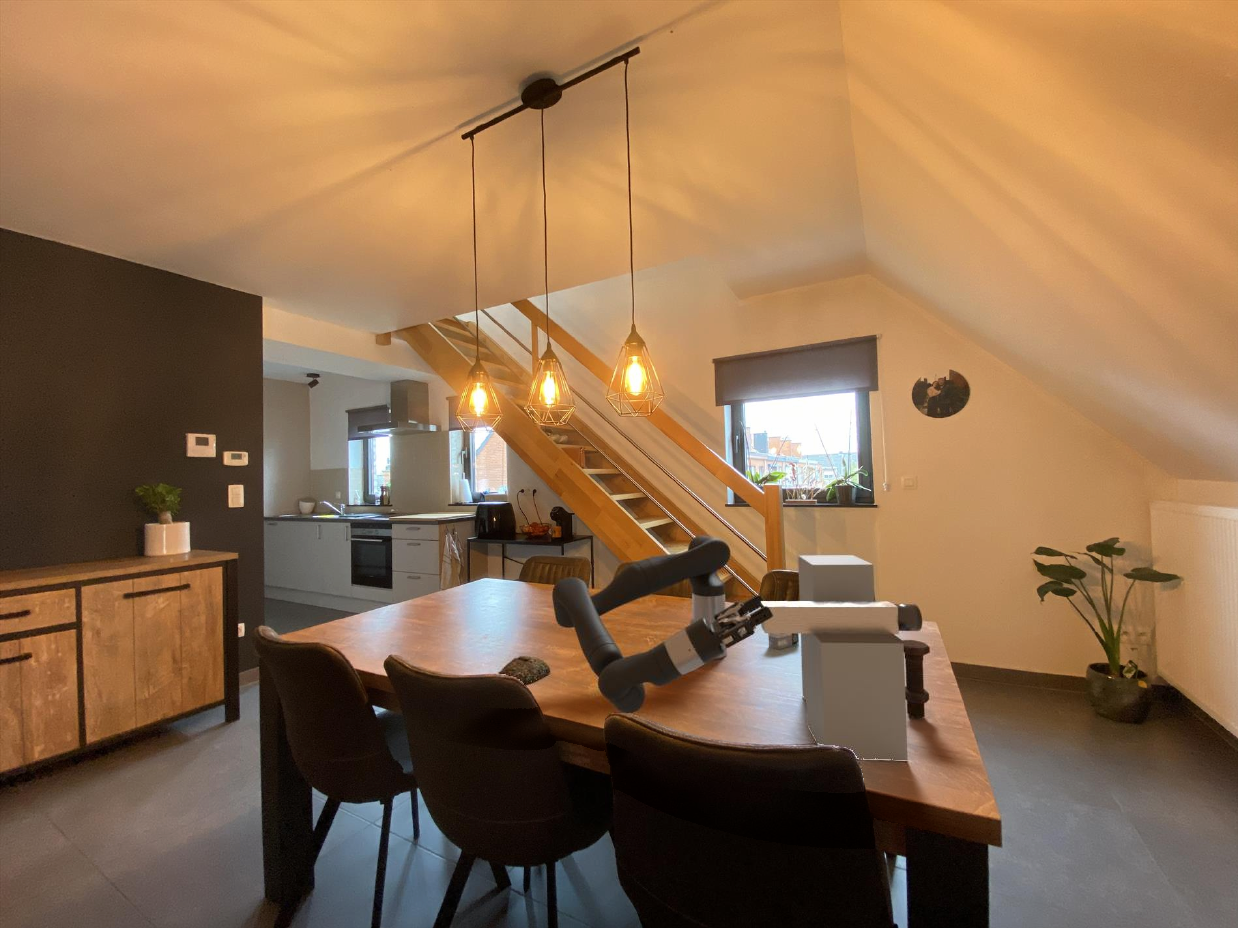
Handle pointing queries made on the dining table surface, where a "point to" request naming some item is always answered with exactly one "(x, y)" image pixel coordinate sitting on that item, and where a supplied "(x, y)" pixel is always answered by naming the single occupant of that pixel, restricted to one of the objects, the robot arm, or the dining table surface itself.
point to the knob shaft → (841, 617)
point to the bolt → (915, 677)
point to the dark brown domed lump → (526, 668)
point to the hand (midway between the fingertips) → (766, 604)
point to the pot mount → (851, 667)
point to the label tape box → (783, 640)
